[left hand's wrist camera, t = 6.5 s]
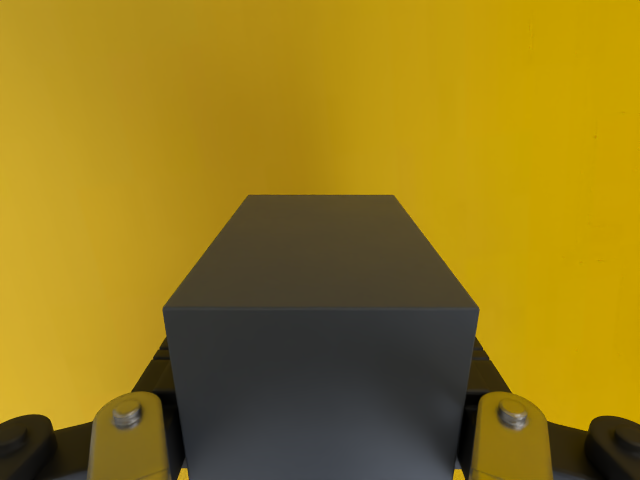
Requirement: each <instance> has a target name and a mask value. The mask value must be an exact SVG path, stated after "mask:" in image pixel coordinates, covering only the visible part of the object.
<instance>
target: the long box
mask: <svg viewBox="0 0 640 480" xmlns="http://www.w3.org/2000/svg"><path fill="white" fill-rule="evenodd" d="M163 316H164V322H165V329H166V335H167V341H168V348H169V354H170V361H171V367H172V373H173V380H174V386H175V393H176V399H177V405H178V412H179V418H180V425H181V431H182V437H183V444H184V450H185V457H186V463H187V469H188V476H189V480H453V474H454V468H455V462H456V455H457V449H458V443H459V436H460V430H461V423H462V417H463V411H464V404H465V398H466V392H467V385H468V379H469V373H470V366H471V360H472V354H473V347H474V341H475V335H476V328H477V322H478V316H479V307H478V306H477V305H476V303H475V302H474V301H473V299H472V298H471V297H470V295H469V294H468V293H467V291H466V290H465V289H464V287H463V286H462V285H461V283H460V282H459V281H458V279H457V278H456V277H455V275H454V274H453V273H452V272H451V270H450V269H449V268H448V266H447V265H446V264H445V262H444V261H443V260H442V258H441V257H440V256H439V254H438V253H437V252H436V250H435V249H434V248H433V246H432V245H431V244H430V242H429V241H428V240H427V238H426V237H425V236H424V235H423V233H422V232H421V231H420V229H419V228H418V227H417V225H416V224H415V223H414V221H413V220H412V219H411V217H410V216H409V215H408V213H407V212H406V211H405V209H404V208H403V207H402V205H401V204H400V203H399V201H398V200H397V199H396V198H395V196H394V195H248V196H247V197H246V199H245V200H244V201H243V203H242V204H241V205H240V207H239V208H238V209H237V211H236V212H235V213H234V215H233V216H232V217H231V219H230V220H229V221H228V222H227V224H226V225H225V226H224V228H223V229H222V230H221V232H220V233H219V234H218V236H217V237H216V238H215V240H214V241H213V242H212V244H211V245H210V246H209V247H208V249H207V250H206V251H205V253H204V254H203V255H202V257H201V258H200V259H199V261H198V262H197V263H196V265H195V266H194V267H193V269H192V270H191V271H190V273H189V274H188V275H187V276H186V278H185V279H184V280H183V282H182V283H181V284H180V286H179V287H178V288H177V290H176V291H175V292H174V294H173V295H172V296H171V298H170V299H169V300H168V301H167V303H166V304H165V305H164V307H163Z"/></svg>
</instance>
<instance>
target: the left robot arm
mask: <svg viewBox="0 0 640 480" xmlns="http://www.w3.org/2000/svg"><path fill="white" fill-rule="evenodd" d="M181 468H187V463H186V457H185V450H184V444H183V437H182V431H181V425H180V418H179V412H178V405H177V399H176V393H175V386H174V380H173V373H172V367H171V361H170V354H169V348H168V341H167V337H166V338H165V340H164V341H163V343H162V344H161V346H160V349H159V350H158V351H157V352H156V354H155V355H154V357H153V360H151V362H150V363H149V365H148V366H147V368H146V370H145V371H144V373H143V374H142V376H141V377H140V379H139V381H138V382H137V384H136V385H135V387H134V388H133V390H132V392H131V393H128V394H125V395H122V396H119V397H117V398H115V399H113V400H112V401H110V402H109V403H107V404H106V405H105V406H103V407H102V408H101V409H100V410H99V411H98V413H97V414H96V416H95V418H94V420H93V421H92V422H89V423H85V424H81V425H77V426H73V427H68V428H64V429H60V430H56V431H54V430H53V427H52V423H51V421H50V419H48V418H47V417H45V416H43V415H37V414H32V415H24V416H20V417H16V418H13V419H11V420H8V421H6V422H4V423H1V424H0V480H177V478H178V476H179V473H180V470H181ZM454 469H462V472H463V474H464V477H465V480H640V425H639V424H637V423H635V422H633V421H630V420H627V419H624V418H620V417H615V416H600V417H597V418H595V419H593V420H592V421H591V423H590V426H589V429H588V431H583V430H579V429H575V428H571V427H567V426H562V425H558V424H555V423H551V422H549V421H547V420H546V418H545V416H544V414H543V413H542V411H541V410H540V409H539V408H538V407H537V406H535V405H534V404H533V403H531V402H530V401H528V400H527V399H525V398H523V397H521V396H518V395H515V394H512V392H511V391H510V389H509V388H508V386H507V385H506V383H505V382H504V380H503V378H502V377H501V375H500V374H499V372H498V371H497V369H496V368H495V366H494V364H493V363H492V361H491V360H489V357H488V355H487V354H486V352H485V351H483V347H482V346H481V344H480V343H479V341H478V340H477V338H476V337H475V341H474V347H473V354H472V360H471V366H470V373H469V379H468V385H467V392H466V398H465V404H464V411H463V417H462V423H461V430H460V436H459V443H458V449H457V455H456V462H455V468H454Z"/></svg>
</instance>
